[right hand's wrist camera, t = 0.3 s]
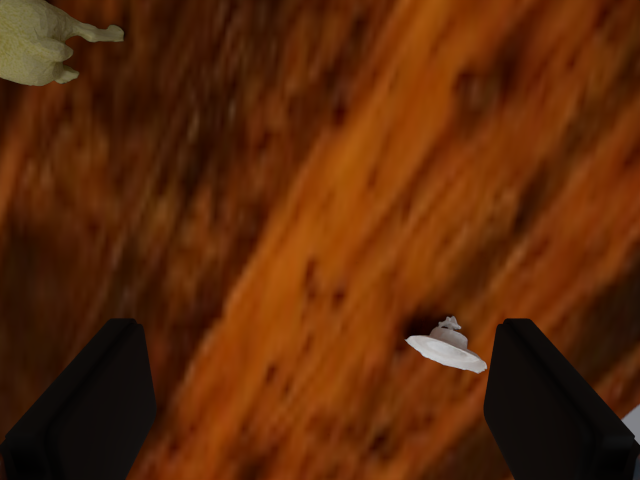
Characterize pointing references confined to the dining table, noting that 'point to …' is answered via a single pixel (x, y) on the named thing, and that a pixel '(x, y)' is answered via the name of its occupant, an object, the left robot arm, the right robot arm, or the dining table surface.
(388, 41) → the dining table surface
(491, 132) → the dining table surface
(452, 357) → the white lid
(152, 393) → the right robot arm
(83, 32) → the toy
